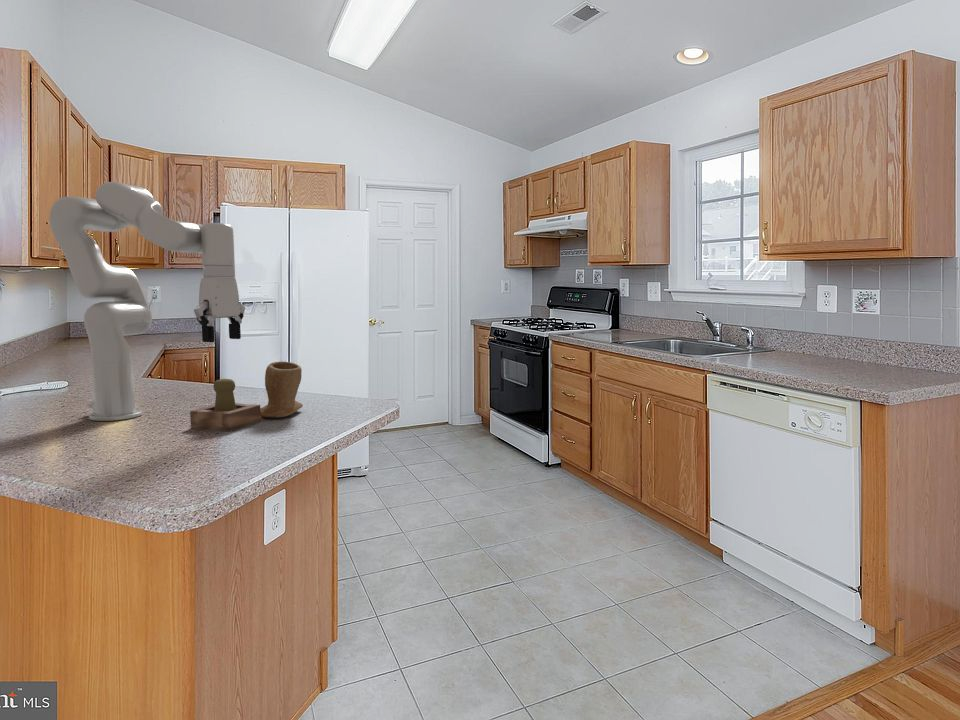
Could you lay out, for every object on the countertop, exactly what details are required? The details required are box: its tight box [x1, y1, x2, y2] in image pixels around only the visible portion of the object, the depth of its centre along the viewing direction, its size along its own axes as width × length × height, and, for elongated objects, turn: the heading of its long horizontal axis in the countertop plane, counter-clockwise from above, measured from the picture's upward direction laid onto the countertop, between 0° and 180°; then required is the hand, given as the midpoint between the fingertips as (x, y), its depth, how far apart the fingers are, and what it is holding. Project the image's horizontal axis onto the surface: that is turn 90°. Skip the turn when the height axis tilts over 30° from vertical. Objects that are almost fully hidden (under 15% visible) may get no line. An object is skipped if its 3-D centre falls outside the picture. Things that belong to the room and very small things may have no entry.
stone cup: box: [260, 360, 303, 418], centre depth 172 cm, size 15×12×15 cm
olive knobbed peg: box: [212, 378, 236, 411], centre depth 160 cm, size 6×6×11 cm
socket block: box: [189, 402, 262, 433], centre depth 160 cm, size 12×12×4 cm
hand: (222, 340), depth 158 cm, fingers open, 9 cm apart
